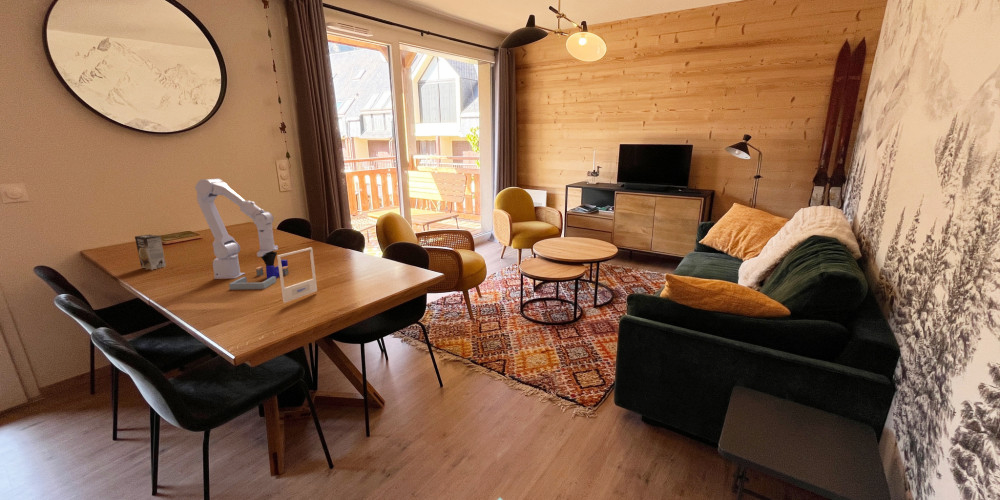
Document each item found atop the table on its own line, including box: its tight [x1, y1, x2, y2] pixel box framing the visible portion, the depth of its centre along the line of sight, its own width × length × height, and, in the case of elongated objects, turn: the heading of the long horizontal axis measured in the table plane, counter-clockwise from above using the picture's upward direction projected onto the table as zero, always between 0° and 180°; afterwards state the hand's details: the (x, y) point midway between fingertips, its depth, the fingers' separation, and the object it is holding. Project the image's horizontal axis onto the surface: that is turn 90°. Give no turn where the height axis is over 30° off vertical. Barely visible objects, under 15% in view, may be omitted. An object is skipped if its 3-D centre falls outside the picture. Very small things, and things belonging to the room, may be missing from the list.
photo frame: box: [276, 247, 318, 304], centre depth 153 cm, size 15×1×18 cm, turn 155°
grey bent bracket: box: [228, 276, 277, 291], centre depth 169 cm, size 14×10×2 cm
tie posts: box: [255, 265, 290, 277], centre depth 184 cm, size 13×3×4 cm, turn 93°
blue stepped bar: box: [265, 259, 289, 280], centre depth 183 cm, size 12×4×6 cm, turn 178°
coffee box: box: [134, 234, 167, 271], centre depth 195 cm, size 9×6×16 cm
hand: (270, 268), depth 182 cm, fingers closed
